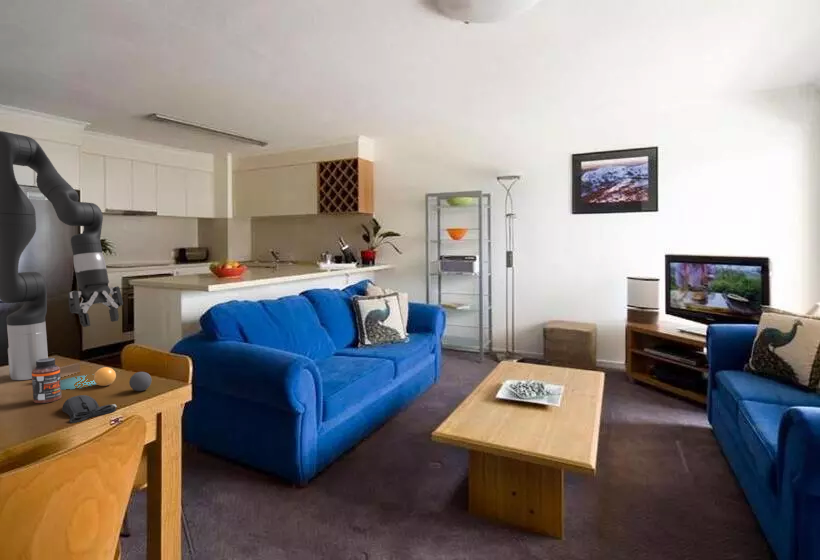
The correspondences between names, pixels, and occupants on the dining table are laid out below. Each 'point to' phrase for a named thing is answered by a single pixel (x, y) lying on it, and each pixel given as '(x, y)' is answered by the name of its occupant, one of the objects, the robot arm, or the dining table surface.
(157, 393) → the dining table surface
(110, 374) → the orange ball
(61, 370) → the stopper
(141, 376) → the grey ball
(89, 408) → the computer mouse
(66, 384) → the teal mark
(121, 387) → the dining table surface
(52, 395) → the supplement bottle
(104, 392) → the dining table surface
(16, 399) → the dining table surface
